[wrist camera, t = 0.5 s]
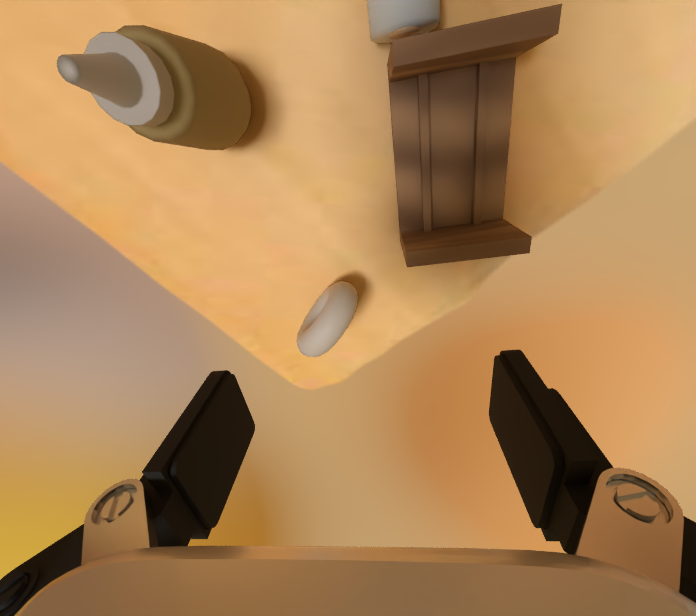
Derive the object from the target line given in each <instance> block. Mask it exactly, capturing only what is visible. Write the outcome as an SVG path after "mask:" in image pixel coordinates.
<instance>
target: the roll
mask: <svg viewBox="0 0 696 616" xmlns="http://www.w3.org/2000/svg"><path fill="white" fill-rule="evenodd" d="M367 6H368V16H369V27H370V38H371V41H373V42H376V43H392V40H396V39H401V38H405V37H410V36H415V35H419V34H424V33H427V32H429V31H431V30H433V29H434V28H436V27H437V26H438V25H439V24H440V0H367Z"/></svg>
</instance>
